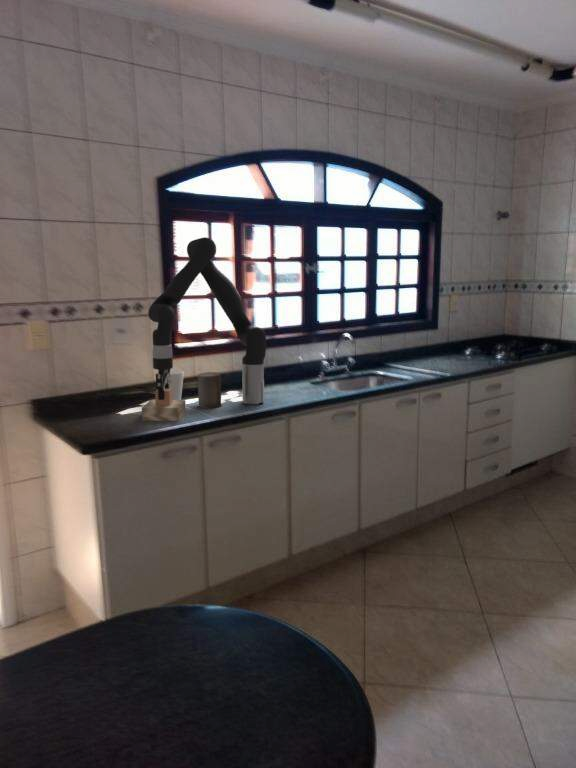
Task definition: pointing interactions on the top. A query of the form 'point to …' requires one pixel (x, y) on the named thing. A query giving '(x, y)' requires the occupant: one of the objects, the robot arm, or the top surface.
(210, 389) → the pillar candle
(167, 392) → the terracotta cube
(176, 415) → the birch plinth
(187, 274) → the robot arm
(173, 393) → the foam cup
